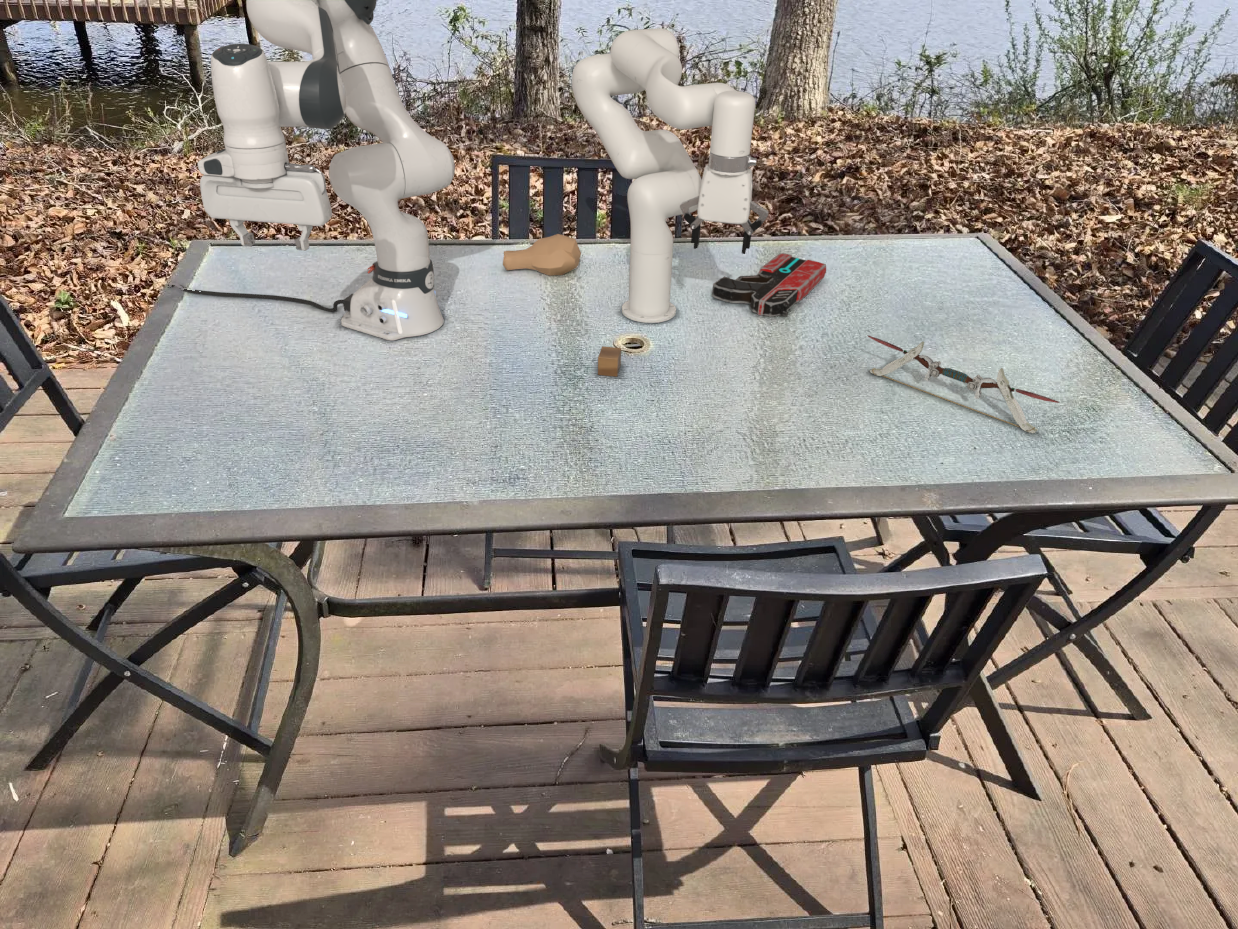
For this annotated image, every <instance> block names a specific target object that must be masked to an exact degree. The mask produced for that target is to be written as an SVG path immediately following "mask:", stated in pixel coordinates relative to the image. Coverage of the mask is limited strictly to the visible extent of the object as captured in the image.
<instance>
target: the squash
mask: <svg viewBox="0 0 1238 929" xmlns="http://www.w3.org/2000/svg"><path fill="white" fill-rule="evenodd" d="M581 255H582V252H581V250H580V247H579V245H578V242H577V240H576V238H573V237H570V236H567V235H564V234H560V233H556V234H554V235H550V236H546V237H542V238H539V239H537V240H536V241H535V242H534V243H533V244H532V245H531V246H529V247H527V248H525V249H518V250H504V251H503V259H502V266H503V267H504V269H505V270H506V271H513V270H522V269H528V270H534V271H536V272H539V273H540V274H543V275H546V276H563V275H565V274H568V273H569V272H571V271H573V270H575V269H577V268H578V266H579V265H580V260H581Z"/></svg>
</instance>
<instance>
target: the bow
mask: <svg viewBox="0 0 1238 929" xmlns="http://www.w3.org/2000/svg"><path fill="white" fill-rule="evenodd" d="M867 337H868V338H870V339H871V340H873V341H875V342H876V343H879V344H881V345H882V346H885V347H887V348H890V349H893V350H895V351H898V352H901V353H902V354H904V355H903V356H902V357H898V358H897V359H894V360H893V361H890V362H888V363H887V364H886V365H885V366H884V367H882V368H876V367H873V368H871V369H869V372H870V374H872V375H874V376H877V377H882V378H886V379H889V380H892V381H894V382H897V383H899V384H902V385H905V386H907V387H909V388H910V387H911V388H913V389H916V390H918V391H921V392H924V393H926V394H929V395H931V396H935V397H936V398H940V399H941V400H945V401H947V402H948V401H949V402H951V403H952V404H956V405H958V406H962V407H964V408H967V409H968V410H972V411H975V412H978V413H980V414H982V415H985V416H988V417H991V418H994V419H996V420H998V421H1001V422H1004V423H1007V424H1009V425H1012V426H1015V427H1017V428H1020V429H1021V430H1022V431H1024V432H1027V433H1030V434H1036V432H1038V430H1039V429H1038V428H1036V427H1035V426H1033V425H1032V424H1031V423H1029V422H1028V421H1027V419H1026V416H1025V413H1024V411H1023V409H1022V407H1021V406H1020V404H1019V402H1018V401H1017V399H1016V398H1015V397H1014V394H1013V393H1014V392H1015V393H1017V394H1021V395H1023V396H1026V397H1029V398H1033V399H1035V400H1040V401H1044V402H1050V403H1056V404H1060V401H1059V400H1056V399H1052V398H1050V397H1047V396H1044V395H1041V394H1038V393H1035V392H1031V391H1028V390H1024V389H1019V388H1015V387H1011V385H1010V381H1009V380H1008V378H1007V377H1006V374H1005V370H1004V368H1003V367H1000V368H999V370H998V371H997V376H996V380H995V379H994V378H991V377H984V378H983V376H981V375H980V374H977V375H976V376H974V377H973V378H972V377H970V376H969V375H968V374H967V373H965V372H963V371H959V370H956V369H954V368H951V367H941V365H942V362H941V360H938V361H936V360H935V361H934V360H933V359H932V358H931V357H930V356H928V355H926V354H921V353H922V351H923V349H924V347H925V341H921V342H920V343H919V344H917V345H916V347H913V348H911V349H910V350H909V351H907V350H906V349H903V348H901V347H899V346H898V345H895V344H893V343H891V342H888V341H886V340H883V339H880V338H877V337H874V336H871V335H868V334H867ZM914 361H917V362H918V363H920V365H922V366H923V367H924V368H926V369H927V372H926V374H925V375H924V378H923V381H927V382H928V381H929V380H931V377H933V378H935V379H937V378H938V377H940V376H941V375H942V376H944V377H947V378H949V379H953V380H956V381H958V382H961V383H964V384H966V385H967V386H966V388H967V389H968V390H969V391H971V392H975V393H974V399H975V400H979V399H981V398H982V389H997V390H998V391H999V393H1000V394H1001V396H1002V398H1003V399H1004V401H1005V402H1006V405H1007V408H1008V410H1009V411H1010V413H1011V415H1012V417H1013V419H1014V421H1015V422H1016V424H1014V423H1012V422H1009V421H1007V420H1004V419H1002V418H1000V417H999V418H998V417H996V416H994V415H991V414H988V413H985V412H982V411H980V410H977V409H974V408H971V407H969V406H966V405H964V404H960V403H958V402H955V401H953V400H950V399H947V398H945V397H942V396H939V395H937V394H934V393H931V392H929V391H926V390H925V389H924V390H923V389H921V388H918V387H915V386H912V385H910V384H908V383H905V382H902V381H899V380H896V379H893V378H891V377H888V376H886V375H888V374H892V373H894V372H895V371H897V370H898V369H900V368H901V367H903V366H905V365H907V364H909V363H911V362H914Z"/></svg>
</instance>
